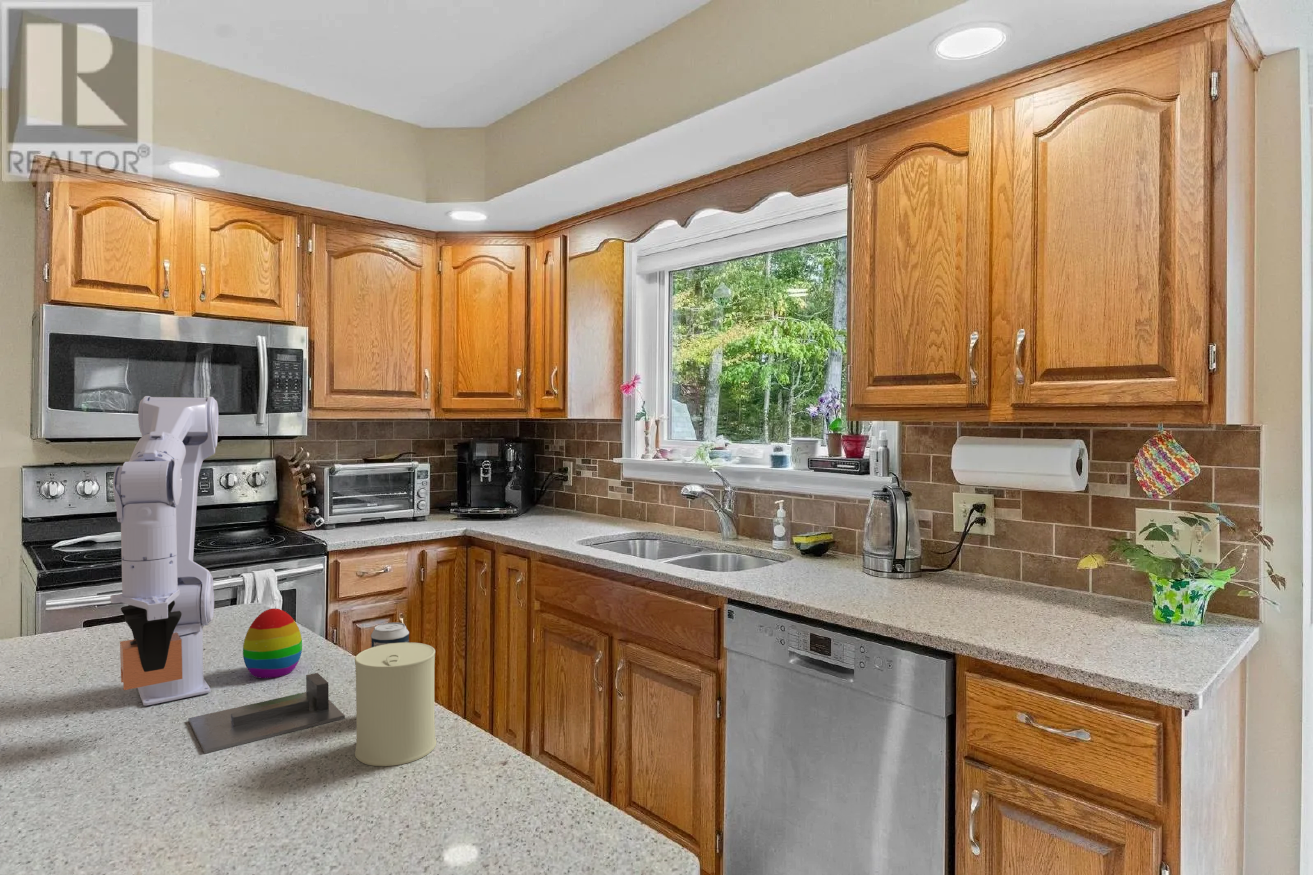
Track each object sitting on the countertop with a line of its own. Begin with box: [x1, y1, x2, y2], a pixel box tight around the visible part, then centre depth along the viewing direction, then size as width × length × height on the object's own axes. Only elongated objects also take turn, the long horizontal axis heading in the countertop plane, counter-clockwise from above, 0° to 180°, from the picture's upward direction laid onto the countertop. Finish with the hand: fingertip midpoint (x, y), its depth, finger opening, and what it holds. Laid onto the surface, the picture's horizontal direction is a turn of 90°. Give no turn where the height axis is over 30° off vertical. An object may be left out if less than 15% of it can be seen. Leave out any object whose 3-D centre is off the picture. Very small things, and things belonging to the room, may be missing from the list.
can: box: [354, 641, 437, 767], centre depth 89 cm, size 9×9×12 cm
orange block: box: [119, 632, 182, 691], centre depth 93 cm, size 4×6×5 cm, turn 130°
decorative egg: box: [242, 607, 303, 679], centre depth 115 cm, size 8×8×10 cm
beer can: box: [370, 622, 410, 648], centre depth 99 cm, size 5×5×12 cm
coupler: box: [187, 672, 346, 754], centre depth 97 cm, size 12×16×4 cm
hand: (151, 664), depth 93 cm, fingers closed on orange block, 4 cm apart
